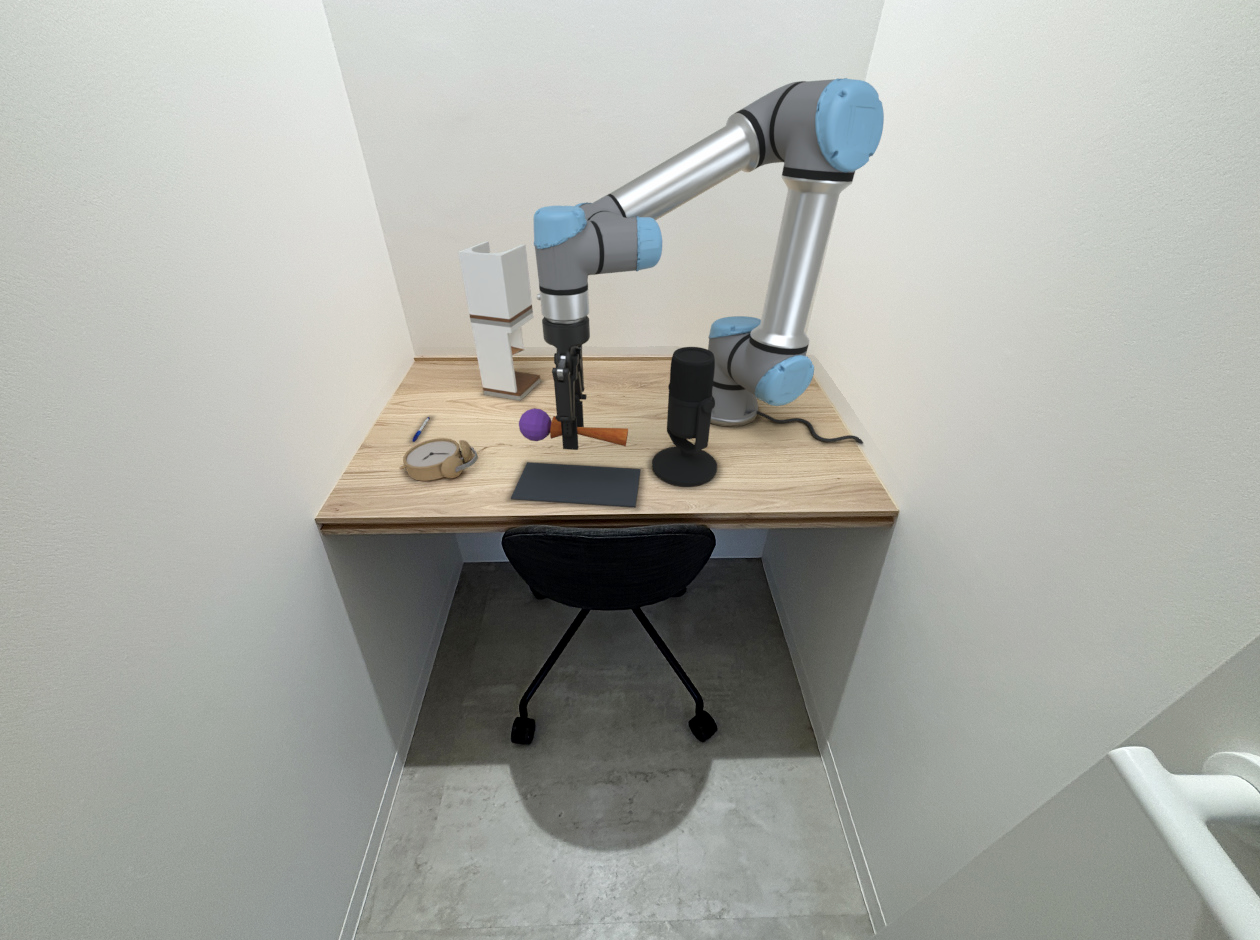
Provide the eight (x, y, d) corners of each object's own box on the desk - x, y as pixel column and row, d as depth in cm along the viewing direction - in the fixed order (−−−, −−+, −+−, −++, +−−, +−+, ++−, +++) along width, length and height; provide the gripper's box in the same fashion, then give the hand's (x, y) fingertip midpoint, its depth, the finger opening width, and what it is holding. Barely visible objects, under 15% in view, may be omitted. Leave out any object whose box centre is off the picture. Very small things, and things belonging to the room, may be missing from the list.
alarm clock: (417, 438, 108) (481, 432, 105) (426, 456, 111) (488, 451, 108) (390, 468, 99) (459, 462, 96) (401, 487, 102) (468, 483, 99)
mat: (640, 470, 104) (640, 468, 104) (635, 507, 94) (635, 506, 94) (527, 463, 106) (527, 462, 106) (510, 499, 96) (510, 497, 96)
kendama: (625, 437, 88) (513, 421, 88) (623, 460, 92) (516, 445, 93) (630, 414, 92) (522, 399, 92) (628, 437, 96) (525, 423, 97)
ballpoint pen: (416, 442, 113) (415, 438, 112) (412, 442, 113) (411, 438, 112) (430, 419, 121) (429, 415, 121) (426, 419, 121) (425, 415, 121)
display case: (520, 400, 129) (500, 255, 108) (484, 394, 131) (457, 251, 111) (540, 381, 137) (525, 244, 117) (505, 376, 140) (485, 241, 120)
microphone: (730, 473, 103) (747, 359, 89) (678, 495, 97) (687, 376, 83) (689, 443, 113) (699, 335, 98) (639, 461, 107) (641, 349, 92)
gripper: (554, 298, 87) (564, 414, 101) (527, 335, 73) (542, 466, 86) (597, 299, 87) (600, 417, 101) (578, 338, 72) (585, 469, 86)
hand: (573, 439), depth 93 cm, fingers closed on kendama, 5 cm apart
